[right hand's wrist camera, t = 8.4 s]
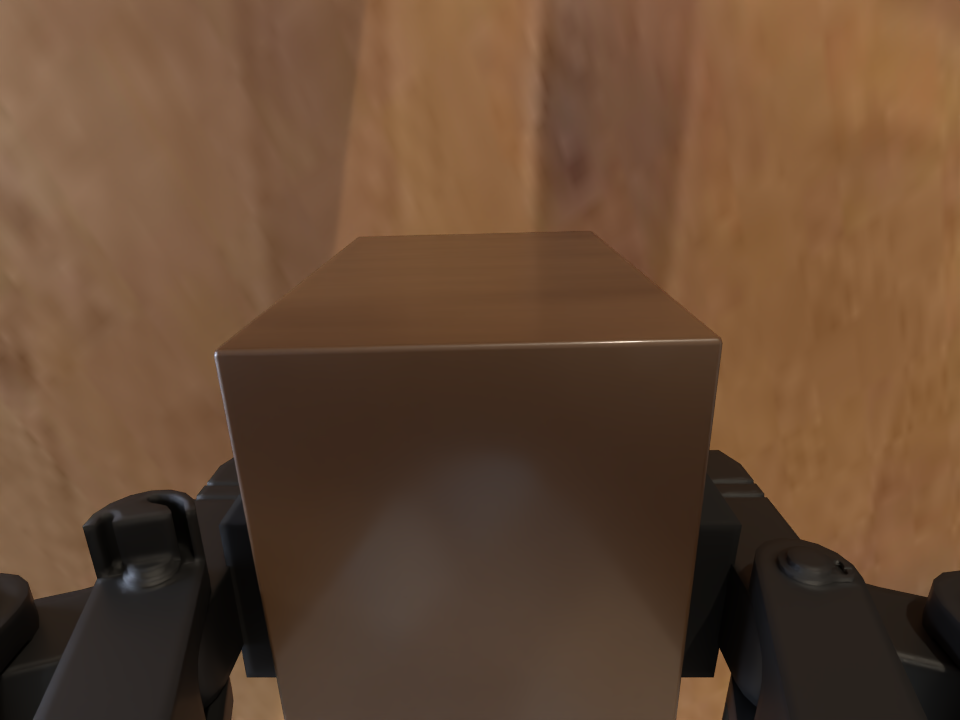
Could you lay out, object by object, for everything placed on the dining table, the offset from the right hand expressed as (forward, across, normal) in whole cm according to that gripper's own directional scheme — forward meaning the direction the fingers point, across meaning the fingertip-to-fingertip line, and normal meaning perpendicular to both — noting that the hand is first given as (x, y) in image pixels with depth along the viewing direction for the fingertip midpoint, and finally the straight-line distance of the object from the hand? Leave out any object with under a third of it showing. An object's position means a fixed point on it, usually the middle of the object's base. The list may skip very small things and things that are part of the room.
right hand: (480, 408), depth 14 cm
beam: (+1, +1, -28) cm, 28 cm away
